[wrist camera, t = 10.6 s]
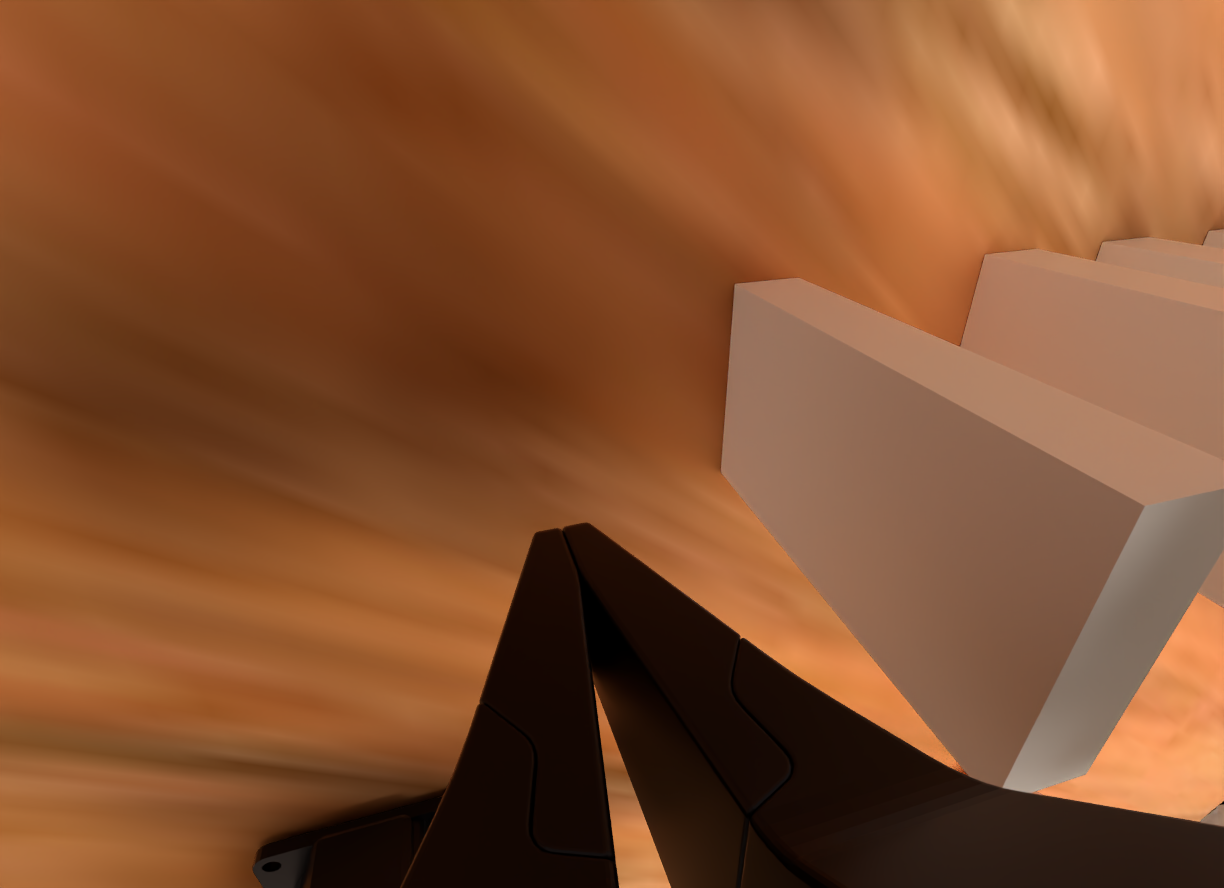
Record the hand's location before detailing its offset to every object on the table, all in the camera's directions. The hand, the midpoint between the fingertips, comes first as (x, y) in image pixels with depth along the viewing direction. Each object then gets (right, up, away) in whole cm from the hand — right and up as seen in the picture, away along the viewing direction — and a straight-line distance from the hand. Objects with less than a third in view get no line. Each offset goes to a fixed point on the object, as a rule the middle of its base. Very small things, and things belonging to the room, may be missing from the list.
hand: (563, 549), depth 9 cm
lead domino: (+4, +3, +6) cm, 8 cm away
